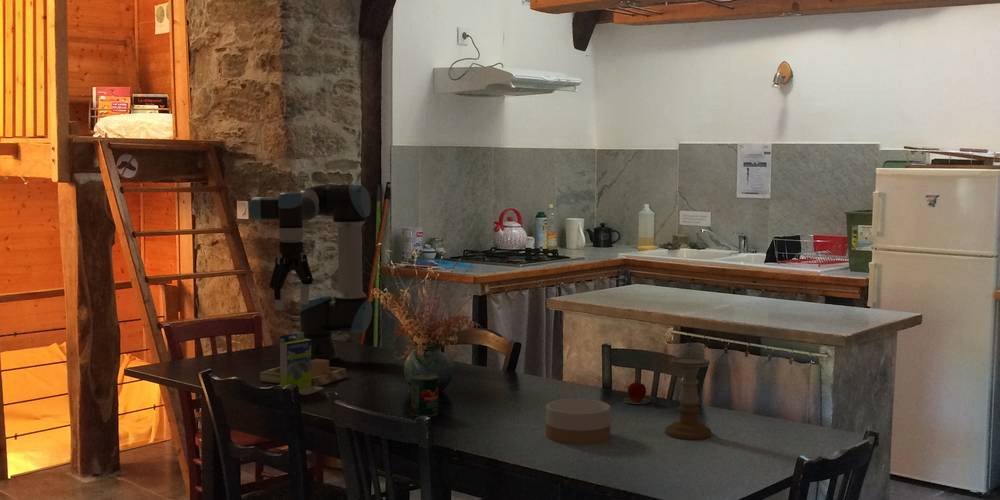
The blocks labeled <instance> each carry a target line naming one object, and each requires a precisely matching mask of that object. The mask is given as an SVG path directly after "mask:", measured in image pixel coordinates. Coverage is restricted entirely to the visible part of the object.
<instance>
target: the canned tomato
mask: <svg viewBox="0 0 1000 500" xmlns="http://www.w3.org/2000/svg"><path fill="white" fill-rule="evenodd" d="M410 377H411V378H410V380H411V381H410V384H411V385H410V386H411V387H410V389H411V390H410V392H411V393H410V397H411V398H410V400H411V401H410V402H411V405H410V408H411V410H410V411H411V412H410V414H411V415H412V416H414V415H415V417H419V415H426V416H429V417H434V416H437V415H438V414H439V375H438V374H435V373H415V374H412V375H411V376H410Z"/></svg>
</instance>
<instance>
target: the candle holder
mask: <svg viewBox="0 0 1000 500" xmlns="http://www.w3.org/2000/svg"><path fill="white" fill-rule="evenodd" d="M669 363H670V365H672V366H675V367H679V370H680V371H681V372H682V377H681V379H679V383H680V384H681V388H680V392H679V395H678V402H679V406H678V407H677V410H678V413H679V420H676V421H674V422H672V423H671V424H669V425H667V426H666V427H665V428H664V432H665V434H666V435H667V436H668V437H671V438H674V437H675V439H679V438H680V439H679V440H703V439H707V438H709V437H711V435H712V430H711V428H710V427H708V426H706V425H705V423H703V422H701V421H700V422H699V421H698V413H699V412H700V411H701V410H700V407H699V406H698V403H699V402H700V397H699V394H698V387H697V385H698V384H699V380H698V379H697V377H696V375H697V373H698V372H699V370H700V368H705V367H708V366H709V365H710V360H709V359H707V358H703V357H697V356H678V357H677V356H676V357H672V358H670V359H669Z"/></svg>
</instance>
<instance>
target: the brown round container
mask: <svg viewBox="0 0 1000 500" xmlns="http://www.w3.org/2000/svg"><path fill="white" fill-rule="evenodd" d="M611 415H612V414H611V405H610V404H609V403H607V402H604V401H600V400H596V399H591V398H590V399H588V398H565V399H556V400H553V401H549V402H548V403H547V404H546V405H545V437H546V438H547V439H548V440H550V441H552V442H556V443H559V444H565V445H574V444H579V445H581V446H582V445H585V446H586V445H595V444H596V443H597V444H601V442H602V443H605V442H607V441H609V440H610V439H611V421H612V420H611V418H612V416H611ZM608 439H609V440H608ZM604 441H605V442H604ZM579 445H578V446H579Z"/></svg>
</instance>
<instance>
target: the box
mask: <svg viewBox="0 0 1000 500" xmlns="http://www.w3.org/2000/svg"><path fill="white" fill-rule="evenodd" d="M292 336H293V338H290V337H292ZM279 359H280V360H279V361H280V362H279V367H280V376H281V384H280V385H281V387H283V386H285V385H288V384H295V385H298V387H299V388H303V387H308V386H311V339H305V338H304V332H301V333H300V332H295V333H290V334H283V335H279Z"/></svg>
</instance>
